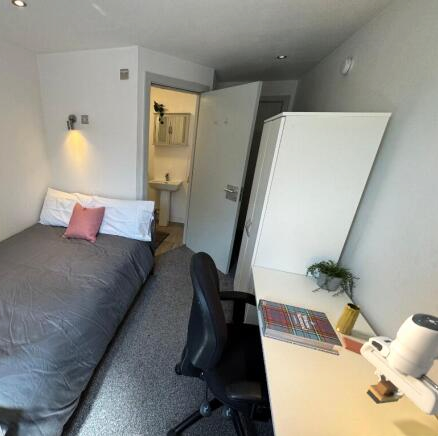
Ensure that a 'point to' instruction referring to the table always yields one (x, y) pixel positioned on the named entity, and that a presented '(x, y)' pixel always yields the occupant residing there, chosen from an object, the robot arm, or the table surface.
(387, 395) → the brush
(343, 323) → the vase
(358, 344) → the tile
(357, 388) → the table surface
